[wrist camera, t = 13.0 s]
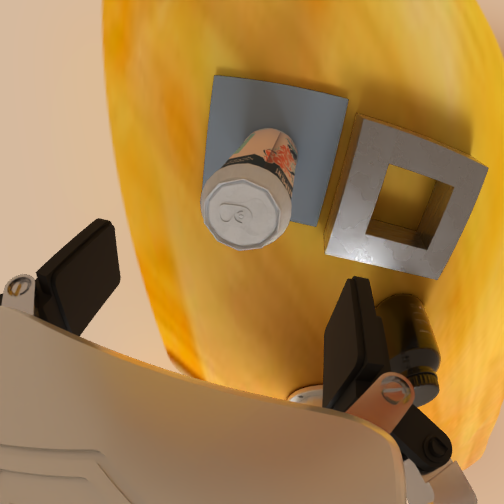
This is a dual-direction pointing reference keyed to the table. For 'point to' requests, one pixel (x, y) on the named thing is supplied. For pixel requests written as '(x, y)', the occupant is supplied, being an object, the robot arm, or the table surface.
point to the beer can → (252, 192)
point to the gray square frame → (368, 188)
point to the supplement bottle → (411, 344)
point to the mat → (286, 120)
